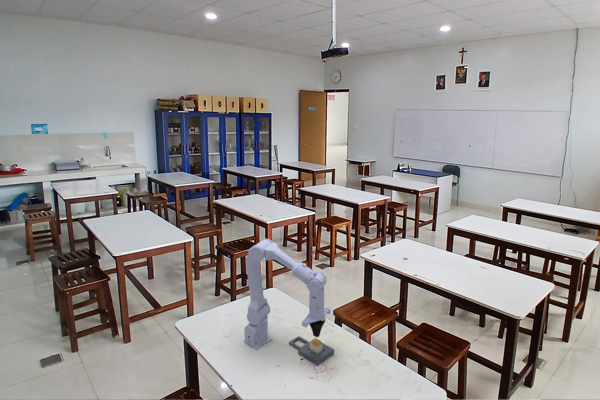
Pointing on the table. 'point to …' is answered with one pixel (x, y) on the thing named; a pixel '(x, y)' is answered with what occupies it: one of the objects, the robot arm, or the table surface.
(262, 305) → the robot arm
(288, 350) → the table surface
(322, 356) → the port block
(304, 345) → the grey mounting plate
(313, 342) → the plug
